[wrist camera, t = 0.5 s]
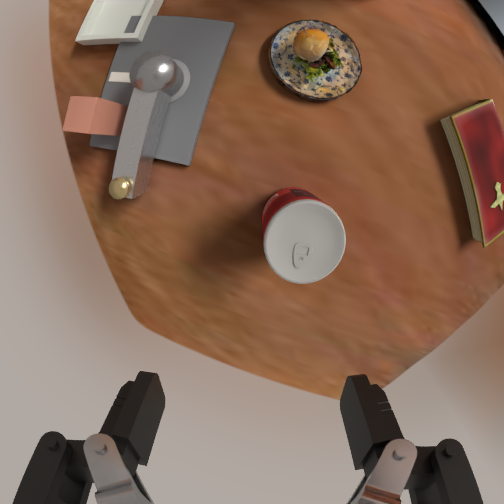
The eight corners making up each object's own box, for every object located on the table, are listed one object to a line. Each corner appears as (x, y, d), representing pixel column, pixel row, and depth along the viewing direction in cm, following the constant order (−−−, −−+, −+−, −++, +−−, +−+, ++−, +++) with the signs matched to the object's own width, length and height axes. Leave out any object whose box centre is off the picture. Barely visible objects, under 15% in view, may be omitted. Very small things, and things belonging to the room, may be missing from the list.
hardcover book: (478, 100, 28) (494, 98, 24) (507, 211, 34) (522, 217, 30) (435, 118, 30) (452, 116, 26) (470, 240, 36) (485, 248, 32)
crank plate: (134, 18, 25) (131, 15, 24) (235, 25, 26) (234, 22, 25) (92, 145, 32) (88, 145, 31) (190, 165, 33) (188, 165, 32)
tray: (110, -10, 23) (103, -17, 20) (171, -15, 23) (166, -23, 21) (84, 45, 26) (75, 41, 24) (144, 44, 27) (137, 37, 25)
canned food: (263, 249, 37) (266, 287, 26) (258, 188, 34) (260, 203, 24) (321, 245, 36) (345, 280, 26) (320, 184, 34) (346, 198, 23)
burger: (318, 120, 31) (334, 111, 24) (248, 59, 29) (245, 37, 21) (374, 67, 28) (399, 51, 21) (309, 10, 25) (319, -17, 18)
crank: (153, 61, 27) (136, 47, 22) (189, 65, 27) (177, 50, 22) (119, 187, 33) (98, 194, 27) (153, 196, 33) (135, 204, 28)
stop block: (104, 104, 29) (70, 96, 21) (129, 106, 29) (98, 97, 22) (97, 132, 30) (62, 130, 23) (121, 136, 31) (88, 133, 23)
